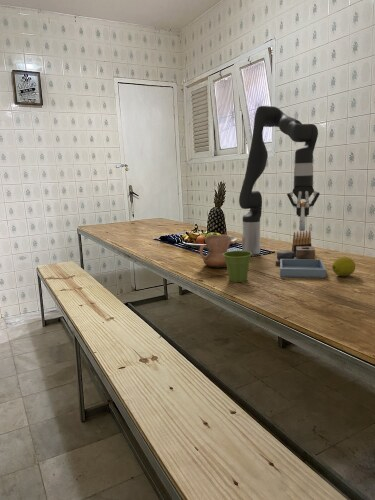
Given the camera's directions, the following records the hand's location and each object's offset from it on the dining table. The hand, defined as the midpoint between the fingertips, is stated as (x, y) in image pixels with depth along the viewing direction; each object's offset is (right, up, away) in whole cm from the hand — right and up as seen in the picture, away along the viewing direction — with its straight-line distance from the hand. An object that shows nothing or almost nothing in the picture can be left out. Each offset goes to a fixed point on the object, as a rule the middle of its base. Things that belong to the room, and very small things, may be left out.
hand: (302, 216), depth 161 cm
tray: (+1, -24, +5) cm, 24 cm away
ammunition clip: (+11, -16, +39) cm, 44 cm away
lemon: (+15, -25, -4) cm, 30 cm away
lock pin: (0, -6, +1) cm, 6 cm away
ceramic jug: (-34, -22, +21) cm, 46 cm away
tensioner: (+3, -20, +21) cm, 29 cm away
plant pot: (-28, -27, -4) cm, 39 cm away
